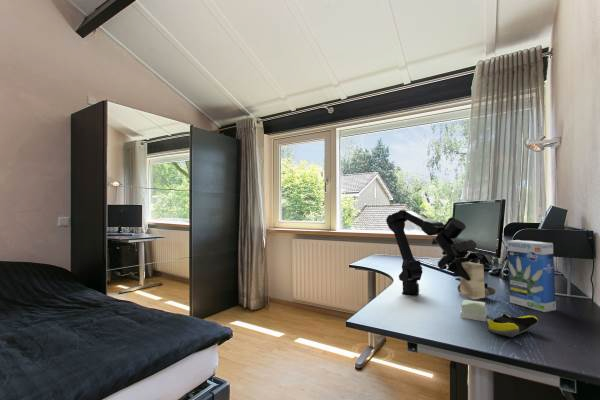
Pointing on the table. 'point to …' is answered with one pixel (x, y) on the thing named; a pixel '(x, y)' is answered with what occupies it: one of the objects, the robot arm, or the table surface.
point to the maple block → (473, 281)
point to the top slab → (473, 307)
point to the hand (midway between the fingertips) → (475, 279)
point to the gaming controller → (511, 324)
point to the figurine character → (487, 289)
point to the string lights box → (531, 274)
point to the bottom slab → (473, 316)
